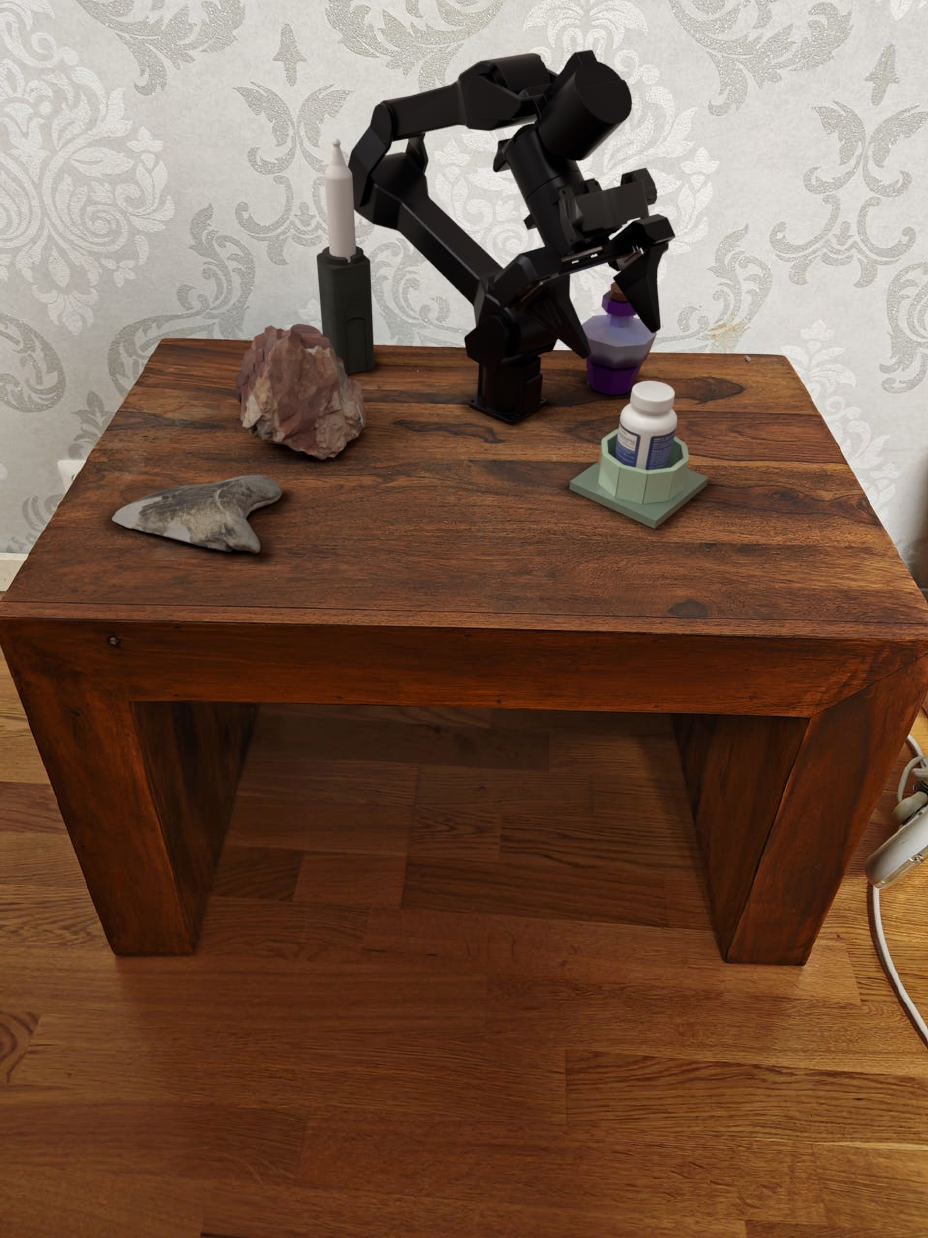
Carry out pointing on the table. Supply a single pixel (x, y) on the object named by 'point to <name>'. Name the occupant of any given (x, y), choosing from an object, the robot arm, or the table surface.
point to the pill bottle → (647, 427)
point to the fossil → (204, 512)
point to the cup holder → (640, 484)
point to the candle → (345, 274)
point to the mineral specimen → (299, 392)
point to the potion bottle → (616, 346)
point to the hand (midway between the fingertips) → (622, 343)
